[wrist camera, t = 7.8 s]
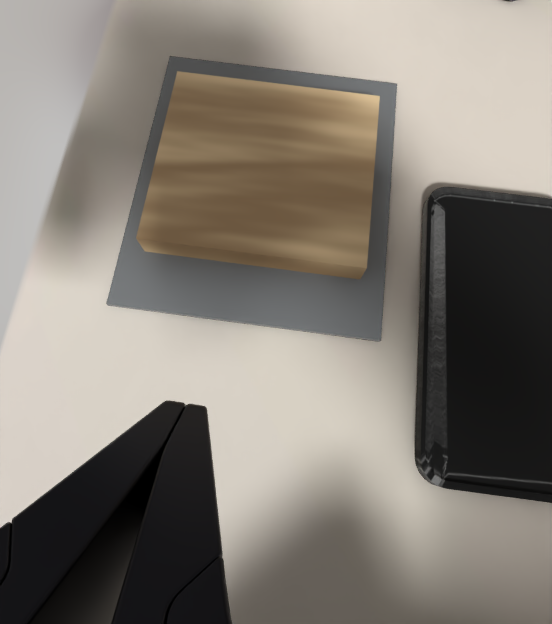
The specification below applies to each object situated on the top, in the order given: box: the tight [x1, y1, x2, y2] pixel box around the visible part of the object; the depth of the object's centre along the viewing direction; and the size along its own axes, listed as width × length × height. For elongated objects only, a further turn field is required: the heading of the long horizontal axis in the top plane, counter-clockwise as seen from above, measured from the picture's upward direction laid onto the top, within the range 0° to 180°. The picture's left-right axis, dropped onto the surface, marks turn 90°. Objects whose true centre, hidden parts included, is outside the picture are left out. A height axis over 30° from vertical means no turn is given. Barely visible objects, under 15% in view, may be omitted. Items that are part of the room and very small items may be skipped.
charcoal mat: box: [106, 56, 397, 341], centre depth 23 cm, size 16×14×1 cm
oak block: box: [136, 71, 380, 279], centre depth 22 cm, size 2×11×10 cm
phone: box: [415, 187, 552, 503], centre depth 20 cm, size 8×1×15 cm
